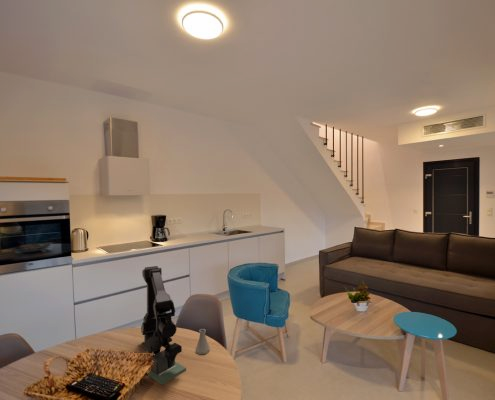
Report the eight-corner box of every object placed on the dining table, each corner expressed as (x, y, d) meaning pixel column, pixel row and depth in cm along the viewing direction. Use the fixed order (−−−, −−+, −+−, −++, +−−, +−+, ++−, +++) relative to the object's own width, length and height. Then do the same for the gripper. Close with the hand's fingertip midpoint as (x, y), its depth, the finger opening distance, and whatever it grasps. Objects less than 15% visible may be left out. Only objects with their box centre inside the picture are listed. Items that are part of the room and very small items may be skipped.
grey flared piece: (207, 355, 129) (207, 334, 129) (192, 354, 131) (192, 333, 131) (212, 347, 136) (212, 327, 136) (198, 346, 138) (198, 326, 138)
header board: (140, 369, 119) (140, 356, 119) (164, 357, 128) (164, 345, 128) (161, 384, 109) (161, 370, 109) (186, 370, 118) (186, 357, 118)
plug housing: (151, 370, 116) (151, 356, 116) (168, 360, 123) (168, 347, 123) (156, 374, 114) (157, 359, 114) (174, 364, 121) (174, 350, 121)
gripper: (134, 328, 118) (134, 364, 118) (159, 342, 106) (159, 382, 106) (156, 319, 127) (156, 353, 127) (182, 331, 115) (182, 368, 115)
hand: (163, 364), depth 118 cm, fingers open, 9 cm apart
